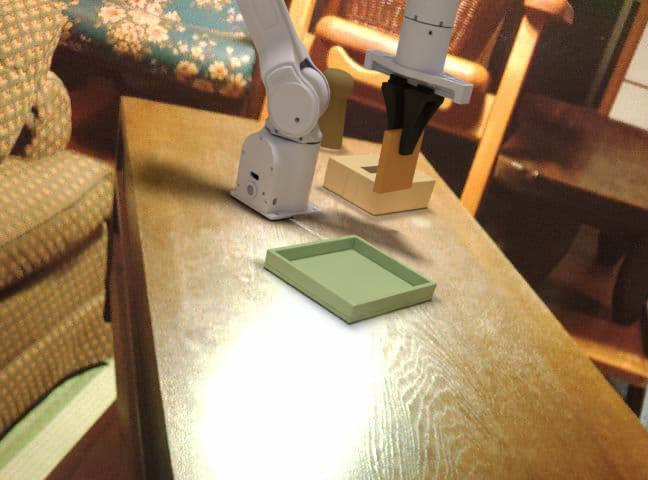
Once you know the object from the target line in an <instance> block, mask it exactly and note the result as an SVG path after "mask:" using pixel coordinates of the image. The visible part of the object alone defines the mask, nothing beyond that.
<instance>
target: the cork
mask: <svg viewBox="0 0 648 480" xmlns="http://www.w3.org/2000/svg"><path fill="white" fill-rule="evenodd" d="M322 73H323V75H324V76H325V78H326V79H327V82H328V84H329V89H330V100H329V104H328V107H327V109H326V111H325V112H324V114H323V115H322V116H321V117H320V118H319V119H318V121H317V122H318V125H319V129H320V131H321V133H322V140H321V144H320V148H323V149H327V150H328V149H329V150H341V149H342V148H343V138H344V131H345V130H344V129H345V122H346V121H345V120H346V113H347V102H348V98H349V97H350V96H351V95H352V92H353V90H354V86H355V84H354V83H355V80H354V76H353V75H352V74H351V73H349V72H347V71H346V70H344V69H340V68H336V67H329V68H326V69H325V70H324V71H323V72H322Z"/></svg>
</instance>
